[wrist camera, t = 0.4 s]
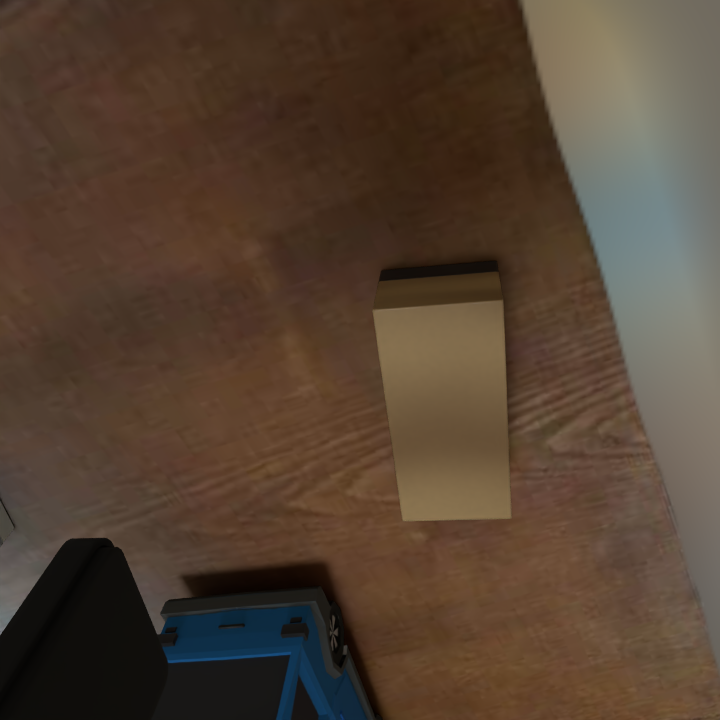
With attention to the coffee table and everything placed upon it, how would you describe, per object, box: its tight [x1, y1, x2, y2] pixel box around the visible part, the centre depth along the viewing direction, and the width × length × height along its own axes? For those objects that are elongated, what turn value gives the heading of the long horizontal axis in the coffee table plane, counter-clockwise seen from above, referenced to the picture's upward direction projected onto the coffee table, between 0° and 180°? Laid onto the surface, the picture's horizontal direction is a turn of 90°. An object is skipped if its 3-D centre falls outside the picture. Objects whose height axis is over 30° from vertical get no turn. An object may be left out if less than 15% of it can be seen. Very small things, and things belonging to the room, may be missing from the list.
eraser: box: [372, 261, 512, 521], centre depth 30 cm, size 11×5×4 cm, turn 8°
